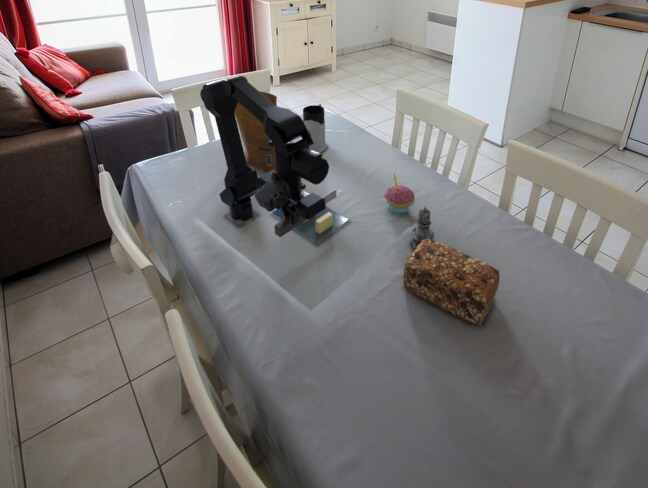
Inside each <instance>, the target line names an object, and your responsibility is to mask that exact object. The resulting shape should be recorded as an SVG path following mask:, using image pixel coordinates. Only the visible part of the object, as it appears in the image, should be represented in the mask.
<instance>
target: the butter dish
mask: <svg viewBox="0 0 648 488" xmlns="http://www.w3.org/2000/svg"><path fill="white" fill-rule="evenodd" d="M271 212H272V214H274V215H275V216H276V217H278V218H280V219H281V220H284V219H285V217H284V215H283V213H282V211H281V208H280V209H274V210H273V211H271ZM328 212H330V213H331V214H333V225H332V226H330V227H329V228H327V229H326V230H325V231H323V232H322V233H320V234H319V233H317V232H316V224H315V221H316V220H317V219H319V218H321V217H322V216H324V215H325V214H327V213H328ZM348 220H349V219H348V218H346V217H345V216H343V215H341V214H340V213H338V212H337V211H334V210H333V209H331V208H330V207H327V206H326V209H324V210H323V211H321V212H320V213H318V214H316V215H315V216H313V217H312V218H310V219H309V220H307V221H306V222H304V223H301V224H300V225H298V226H297V227H295V228H294V229H295V230H298V231H299V232H300V233H302V234H303V235H305V236H307V237H308V238H309V239H311V240H312V241H313V242H316V243H318V242H319V241H321V240H323V238H325V237H327V236H328V235H329V234H331V233H332V232H333V231H335V230H336V229H338V228H339V227H341V226H342V225H343V224H345V223H346V222H347V221H348Z"/></svg>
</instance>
